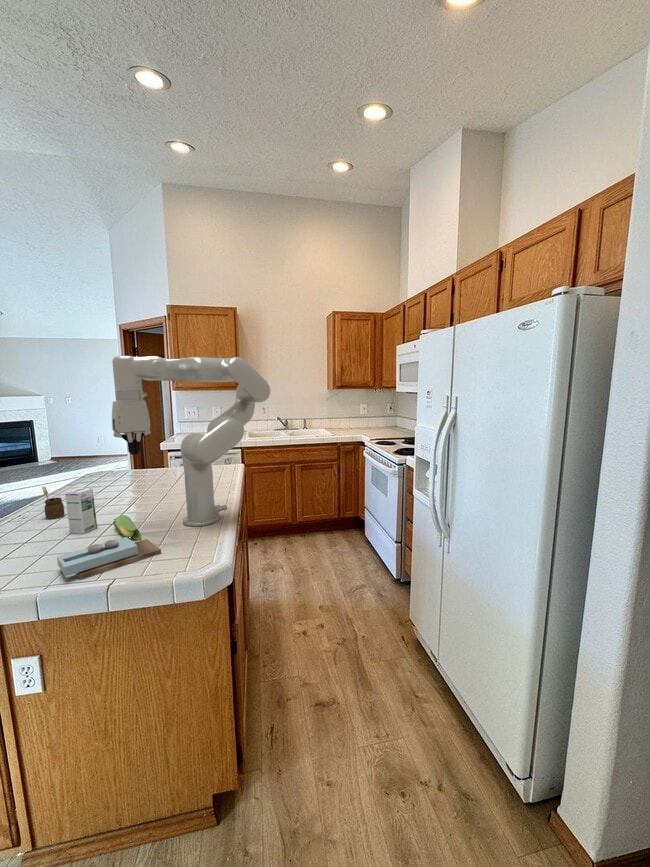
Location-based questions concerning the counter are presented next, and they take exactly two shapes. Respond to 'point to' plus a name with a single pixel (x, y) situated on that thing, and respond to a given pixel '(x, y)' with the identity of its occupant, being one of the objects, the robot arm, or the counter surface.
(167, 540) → the counter surface
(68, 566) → the panel
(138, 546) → the board
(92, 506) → the syrup box
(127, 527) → the edible corn
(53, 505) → the utensil holder
